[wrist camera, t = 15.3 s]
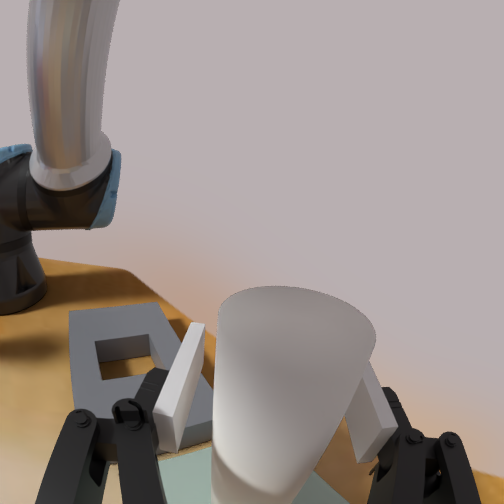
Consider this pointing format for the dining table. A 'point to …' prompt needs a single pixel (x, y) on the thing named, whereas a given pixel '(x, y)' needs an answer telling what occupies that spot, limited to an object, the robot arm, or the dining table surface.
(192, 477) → the pad
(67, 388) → the dining table surface
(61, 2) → the robot arm
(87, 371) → the grey holed plate
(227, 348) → the plug
